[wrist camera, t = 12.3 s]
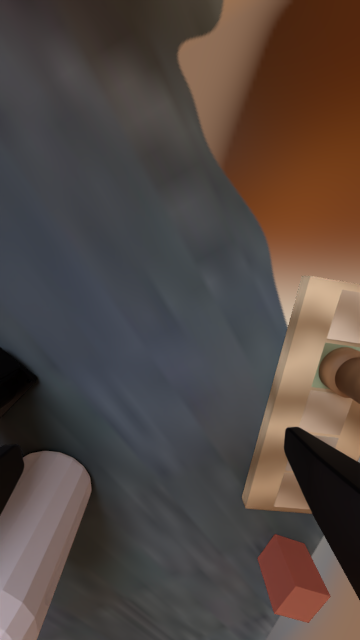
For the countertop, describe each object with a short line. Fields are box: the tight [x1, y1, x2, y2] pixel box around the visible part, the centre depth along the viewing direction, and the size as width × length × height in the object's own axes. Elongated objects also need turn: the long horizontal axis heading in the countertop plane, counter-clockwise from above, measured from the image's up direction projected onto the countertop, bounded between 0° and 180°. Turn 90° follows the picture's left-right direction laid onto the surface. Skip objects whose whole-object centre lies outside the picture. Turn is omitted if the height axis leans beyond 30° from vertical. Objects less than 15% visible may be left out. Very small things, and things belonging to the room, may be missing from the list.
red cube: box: [258, 534, 330, 623], centre depth 24 cm, size 4×4×4 cm
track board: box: [242, 276, 360, 514], centre depth 21 cm, size 26×11×1 cm, turn 171°
